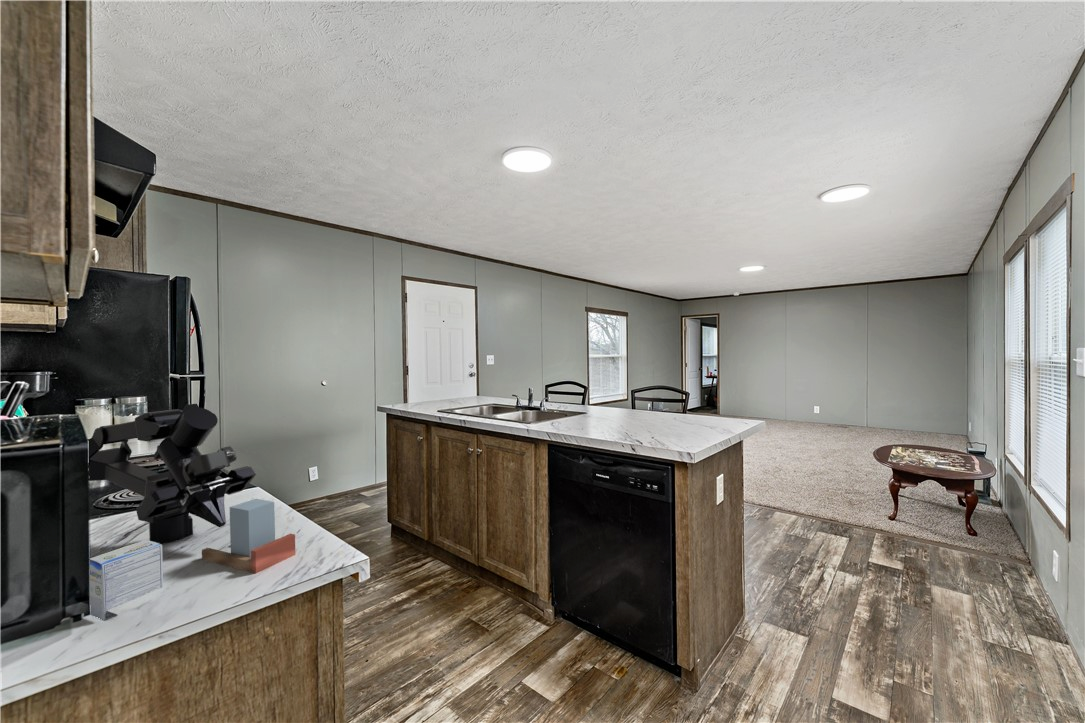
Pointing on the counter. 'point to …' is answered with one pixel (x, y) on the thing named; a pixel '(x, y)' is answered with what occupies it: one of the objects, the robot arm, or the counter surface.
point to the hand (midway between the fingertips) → (222, 525)
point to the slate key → (251, 526)
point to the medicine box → (124, 576)
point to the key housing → (255, 555)
